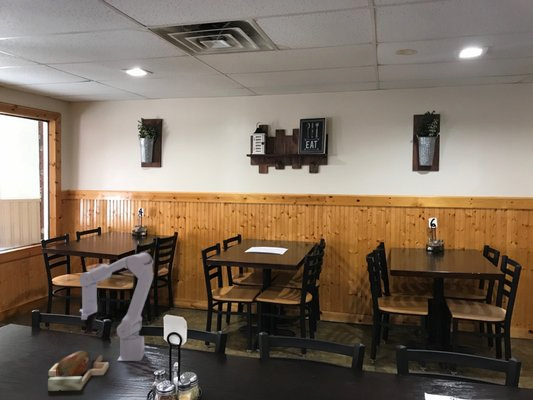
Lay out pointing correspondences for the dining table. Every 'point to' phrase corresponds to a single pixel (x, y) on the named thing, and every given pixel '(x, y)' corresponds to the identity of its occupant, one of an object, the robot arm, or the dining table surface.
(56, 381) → the lane
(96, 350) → the dining table surface
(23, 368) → the dining table surface
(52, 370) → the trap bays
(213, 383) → the dining table surface
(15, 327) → the dining table surface
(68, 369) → the tin
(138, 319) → the robot arm
